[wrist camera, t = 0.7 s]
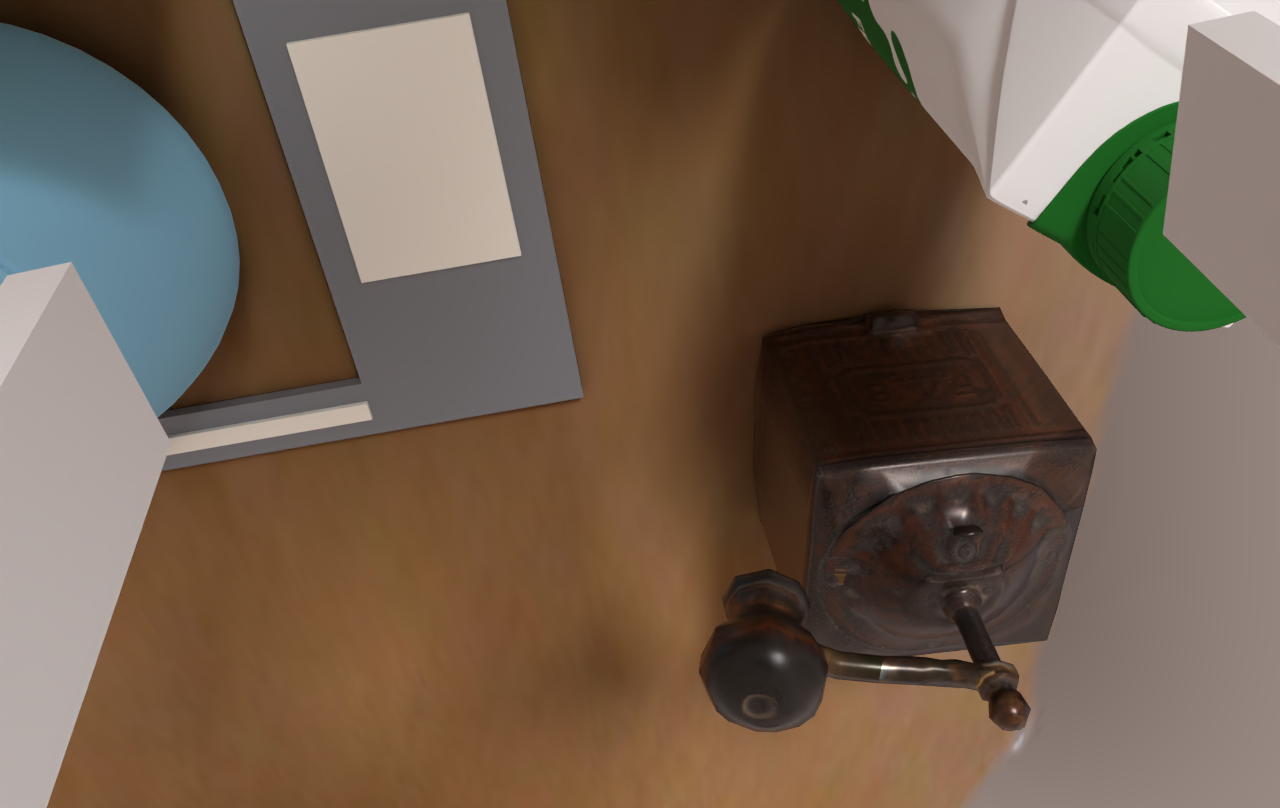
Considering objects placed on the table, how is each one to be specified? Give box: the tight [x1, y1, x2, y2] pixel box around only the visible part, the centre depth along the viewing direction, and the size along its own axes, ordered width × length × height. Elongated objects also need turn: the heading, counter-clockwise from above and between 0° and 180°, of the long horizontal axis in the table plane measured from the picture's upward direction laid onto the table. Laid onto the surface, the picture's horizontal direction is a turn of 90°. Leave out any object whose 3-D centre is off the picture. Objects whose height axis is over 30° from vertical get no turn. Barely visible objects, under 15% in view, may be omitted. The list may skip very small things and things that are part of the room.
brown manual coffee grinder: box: [699, 307, 1097, 732], centre depth 42 cm, size 16×11×18 cm
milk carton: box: [837, 0, 1280, 331], centre depth 30 cm, size 9×9×20 cm
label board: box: [158, 0, 584, 471], centre depth 40 cm, size 23×26×1 cm
